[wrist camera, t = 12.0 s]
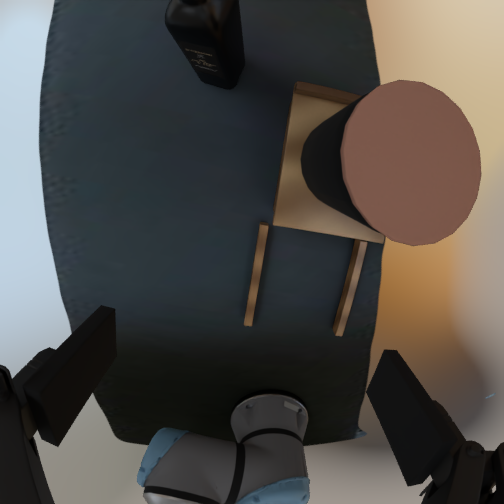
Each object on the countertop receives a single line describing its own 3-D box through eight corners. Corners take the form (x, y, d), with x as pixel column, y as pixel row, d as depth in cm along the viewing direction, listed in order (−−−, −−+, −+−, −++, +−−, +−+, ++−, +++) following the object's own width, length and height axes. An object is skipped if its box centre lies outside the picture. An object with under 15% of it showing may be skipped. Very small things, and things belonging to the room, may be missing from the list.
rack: (338, 329, 50) (358, 370, 39) (244, 318, 50) (241, 360, 38) (382, 123, 41) (420, 111, 30) (279, 99, 41) (287, 75, 29)
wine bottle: (233, 92, 41) (199, -23, 12) (198, 81, 40) (118, -28, 11) (247, 60, 39) (236, -76, 10) (212, 50, 39) (158, -80, 10)
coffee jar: (399, 180, 34) (499, 196, 16) (329, 226, 35) (393, 278, 18) (355, 103, 32) (435, 57, 14) (280, 147, 33) (306, 125, 16)
